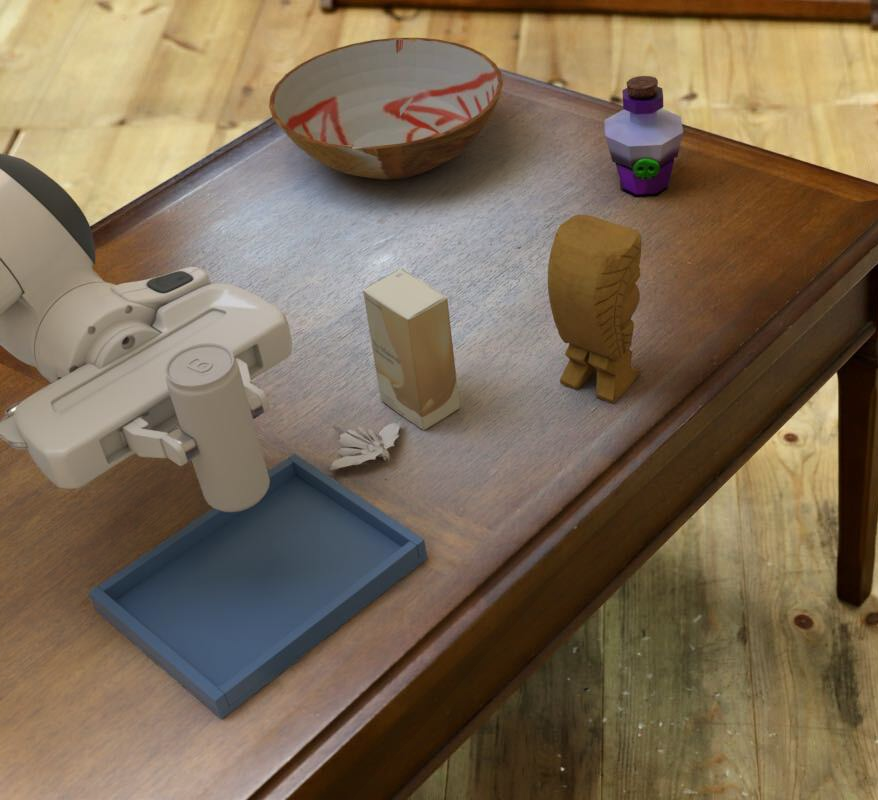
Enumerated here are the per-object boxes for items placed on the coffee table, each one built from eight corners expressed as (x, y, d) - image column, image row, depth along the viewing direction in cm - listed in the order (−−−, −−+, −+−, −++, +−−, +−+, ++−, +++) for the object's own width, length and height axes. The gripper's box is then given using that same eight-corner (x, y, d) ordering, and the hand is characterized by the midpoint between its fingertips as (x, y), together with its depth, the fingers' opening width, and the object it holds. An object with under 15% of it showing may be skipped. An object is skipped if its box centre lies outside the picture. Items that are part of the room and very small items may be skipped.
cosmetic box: (378, 401, 121) (357, 287, 113) (417, 377, 123) (398, 264, 115) (425, 433, 117) (407, 318, 109) (464, 409, 120) (448, 294, 112)
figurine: (651, 373, 122) (647, 231, 113) (612, 415, 118) (605, 272, 108) (584, 349, 125) (576, 209, 116) (544, 390, 121) (531, 248, 111)
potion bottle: (624, 213, 142) (621, 109, 135) (591, 174, 148) (586, 72, 141) (699, 192, 145) (700, 89, 137) (663, 155, 151) (662, 54, 143)
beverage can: (239, 525, 97) (200, 395, 89) (189, 501, 99) (147, 372, 91) (285, 483, 100) (251, 354, 92) (236, 461, 102) (198, 333, 94)
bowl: (267, 221, 144) (251, 154, 139) (299, 105, 163) (286, 42, 158) (507, 208, 144) (500, 141, 139) (511, 94, 163) (505, 30, 158)
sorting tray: (221, 719, 95) (215, 700, 94) (95, 610, 103) (87, 592, 102) (428, 558, 106) (424, 539, 105) (299, 471, 114) (294, 452, 113)
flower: (299, 463, 117) (290, 437, 115) (370, 415, 121) (362, 389, 120) (354, 491, 112) (345, 464, 110) (426, 440, 116) (419, 413, 115)
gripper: (-32, 390, 94) (81, 478, 87) (212, 255, 106) (329, 323, 98) (-2, 457, 98) (108, 547, 91) (230, 320, 110) (344, 390, 102)
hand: (225, 429), depth 95 cm, fingers closed on beverage can, 5 cm apart
